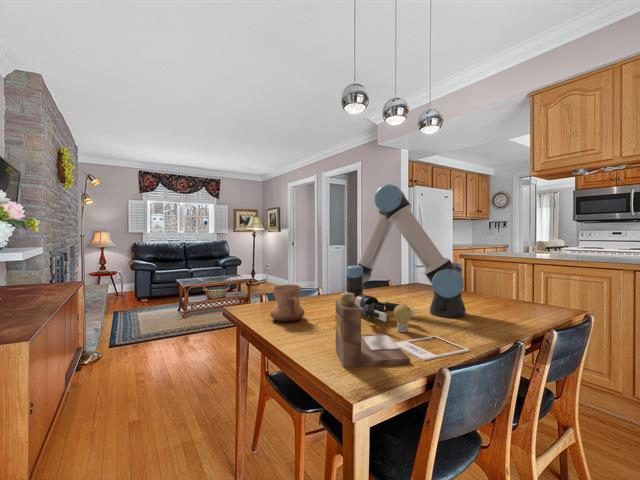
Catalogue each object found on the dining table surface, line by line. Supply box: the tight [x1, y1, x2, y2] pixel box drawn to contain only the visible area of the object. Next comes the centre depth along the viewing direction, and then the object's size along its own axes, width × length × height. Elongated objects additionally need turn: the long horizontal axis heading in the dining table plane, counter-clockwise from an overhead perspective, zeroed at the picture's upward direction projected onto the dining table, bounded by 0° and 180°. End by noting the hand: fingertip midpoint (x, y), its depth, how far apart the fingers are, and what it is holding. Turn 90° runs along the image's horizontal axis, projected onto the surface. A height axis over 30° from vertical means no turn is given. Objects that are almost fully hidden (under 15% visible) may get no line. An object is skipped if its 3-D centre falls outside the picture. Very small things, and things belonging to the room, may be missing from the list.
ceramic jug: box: [269, 283, 305, 323], centre depth 133 cm, size 18×14×14 cm
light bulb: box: [393, 304, 412, 333], centre depth 117 cm, size 6×6×10 cm
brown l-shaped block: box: [335, 292, 411, 369], centre depth 97 cm, size 19×22×19 cm
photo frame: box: [395, 335, 470, 362], centre depth 100 cm, size 15×1×18 cm
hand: (400, 315), depth 117 cm, fingers open, 13 cm apart
